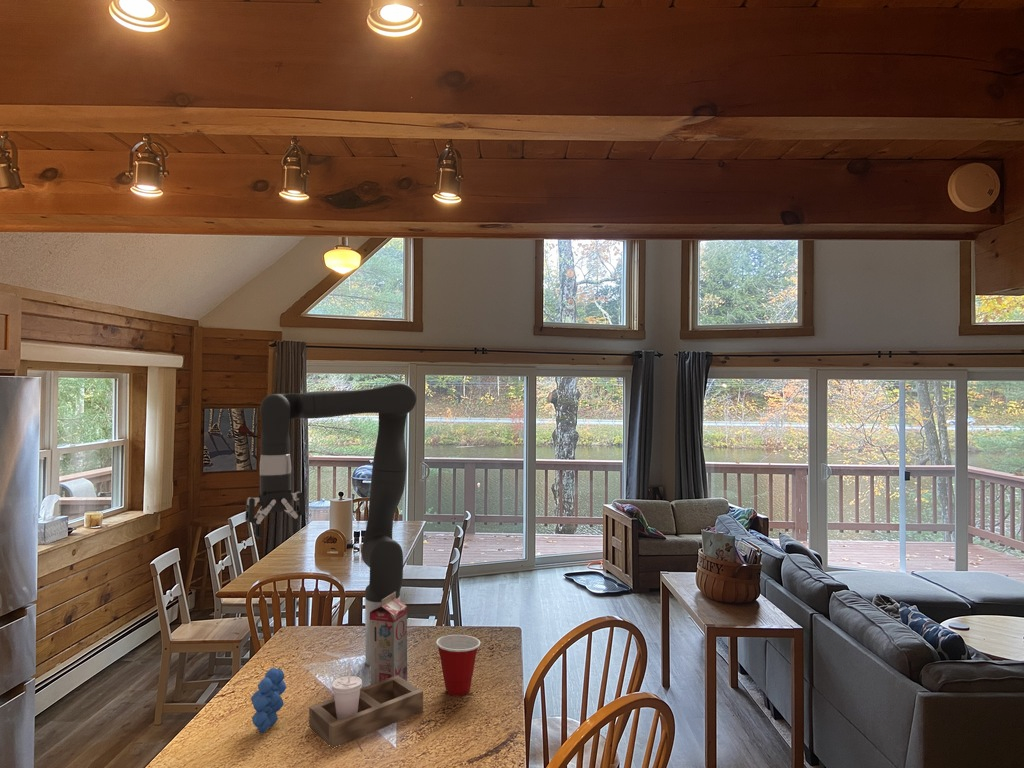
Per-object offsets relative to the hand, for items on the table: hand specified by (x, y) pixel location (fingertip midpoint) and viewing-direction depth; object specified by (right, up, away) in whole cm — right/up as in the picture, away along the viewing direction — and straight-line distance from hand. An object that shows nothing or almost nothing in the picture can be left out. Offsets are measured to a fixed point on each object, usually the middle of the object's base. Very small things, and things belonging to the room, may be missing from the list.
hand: (275, 535), depth 159 cm
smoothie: (+25, -36, -24) cm, 50 cm away
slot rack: (+28, -36, -21) cm, 50 cm away
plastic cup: (+47, -36, -8) cm, 60 cm away
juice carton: (+30, -36, -5) cm, 47 cm away
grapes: (+7, -36, -23) cm, 43 cm away
